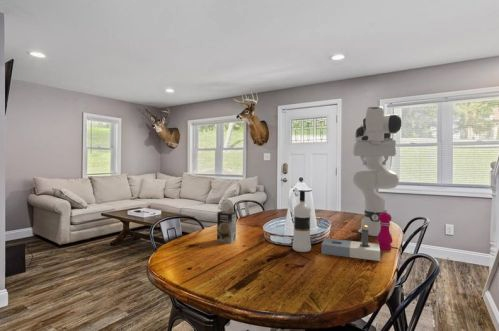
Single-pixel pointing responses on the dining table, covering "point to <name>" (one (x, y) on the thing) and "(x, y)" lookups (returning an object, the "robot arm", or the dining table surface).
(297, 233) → the vodka
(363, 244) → the lock pin
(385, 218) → the pepper mill
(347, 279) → the dining table surface
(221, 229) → the coffee box
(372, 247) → the pin board
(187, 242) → the dining table surface
